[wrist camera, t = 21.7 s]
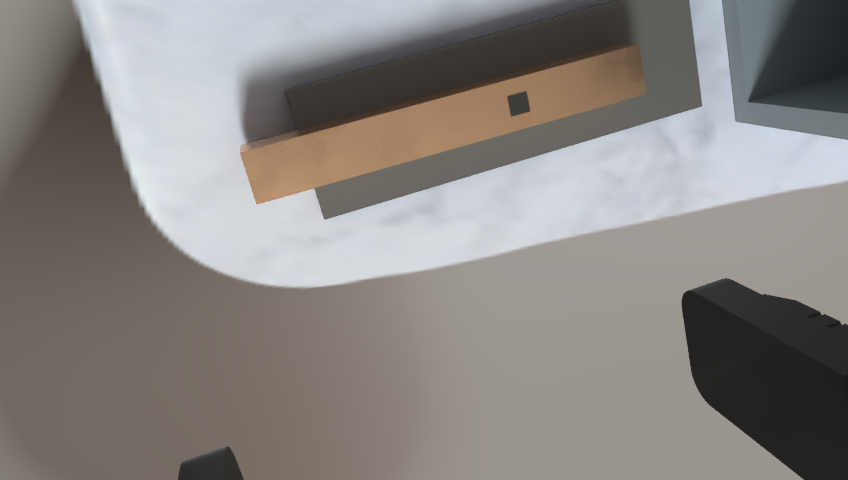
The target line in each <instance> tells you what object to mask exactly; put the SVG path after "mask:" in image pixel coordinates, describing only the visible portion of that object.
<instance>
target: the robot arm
mask: <svg viewBox="0 0 848 480" xmlns="http://www.w3.org/2000/svg"><path fill="white" fill-rule="evenodd" d="M682 312H683V318H684V325H685V332H686V339H687V345H688V352H689V359H690V366H691V372H692V376H693V379H694V382H695V384H696V386H697V388H698V390H699V392H700V394H701V395H702V397H703V398H704V399H705V401H706V402H707V403H708V404H709V405H710V406H712V407H713V408H714V409H715V410H716V411H718V412H719V413H720V414H722V415H723V416H724V417H725V418H727V419H728V420H729V421H730V422H732V423H733V424H734V425H735V426H737V427H738V428H739V429H741V430H742V431H743V432H744V433H746V434H747V435H748V436H749V437H751V438H752V439H753V440H754V441H756V442H757V443H758V444H760V445H761V446H762V447H764V448H765V449H766V450H767V451H768V452H770V453H771V454H772V455H773V456H775V457H776V458H777V459H779V460H780V461H781V462H782V463H784V464H785V465H786V466H787V467H789V468H790V469H791V470H793V471H794V472H795V473H796V474H798V475H799V476H800V477H801V478H803V479H804V480H848V325H847V324H844V325H842V324H841V323H840V321H838V320H836V319H834V318H832V317H830V316H827V315H825V314H824V315H821V313H820V312H819V311H817V310H815V309H813V308H811V307H809V306H806V305H804V304H802V303H800V302H798V301H795V300H791V299H786V298H781V297H775V296H770V295H766V294H764V295H761V294H759V293H757V292H755V291H753V290H751V289H749V288H747V287H745V286H743V285H741V284H739V283H737V282H735V281H733V280H731V279H727V278H725V279H721V280H718V281H715V282H712V283H709V284H706V285H703V286H700V287H698V288H695V289H692V290H689V291H687V292H685V293H684V294H683V297H682ZM178 480H244V479H243V476H242V474H241V471H240V469H239V466H238V463H237V461H236V458H235V456H234V454H233V452H232V450H231V449H230V448H229V447H225V448H221V449H218V450H215V451H213V452H210V453H207V454H204V455H201V456H198V457H195V458H192V459H189V460H186V461H183V462H182V463H181V466H180V471H179V477H178Z"/></svg>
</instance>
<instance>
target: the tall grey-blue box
mask: <svg viewBox="0 0 848 480" xmlns="http://www.w3.org/2000/svg"><path fill="white" fill-rule="evenodd" d="M722 3H723V12H724V20H725V29H726V38H727V47H728V56H729V65H730V74H731V83H732V92H733V100H734V109H735V118H736V122H741V123H747V124H754V125H760V126H766V127H772V128H778V129H785V130H791V131H797V132H803V133H809V134H816V135H822V136H828V137H834V138H840V139H847V140H848V0H722Z"/></svg>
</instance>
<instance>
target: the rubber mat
mask: <svg viewBox="0 0 848 480" xmlns="http://www.w3.org/2000/svg"><path fill="white" fill-rule="evenodd" d="M614 44H639V46H640V53H641V60H642V68H643V75H644V82H645V89H646V94H645V95H642V96H638V97H635V98H631V99H628V100H624V101H620V102H617V103H613V104H610V105H606V106H603V107H599V108H596V109H592V110H589V111H585V112H582V113H578V114H575V115H571V116H567V117H564V118H560V119H557V120H553V121H550V122H546V123H543V124H539V125H536V126H532V127H529V128H525V129H522V130H518V131H514V132H511V133H507V134H504V135H500V136H497V137H493V138H490V139H486V140H483V141H479V142H476V143H472V144H469V145H465V146H461V147H458V148H454V149H451V150H447V151H444V152H440V153H437V154H433V155H430V156H426V157H423V158H419V159H416V160H412V161H409V162H405V163H401V164H398V165H394V166H391V167H387V168H384V169H380V170H377V171H373V172H370V173H366V174H363V175H359V176H356V177H352V178H348V179H345V180H341V181H338V182H334V183H331V184H327V185H324V186H320V187H317V188H315V191H316V194H317V198H318V201H319V204H320V207H321V211H322V214H323V217H324V219H328V218H332V217H335V216H338V215H342V214H345V213H348V212H352V211H355V210H358V209H362V208H365V207H368V206H372V205H375V204H378V203H382V202H385V201H388V200H392V199H395V198H398V197H402V196H405V195H408V194H412V193H415V192H418V191H422V190H425V189H428V188H432V187H435V186H438V185H442V184H445V183H448V182H452V181H455V180H458V179H461V178H465V177H468V176H471V175H475V174H478V173H481V172H485V171H488V170H491V169H495V168H498V167H501V166H505V165H508V164H511V163H515V162H518V161H521V160H525V159H528V158H531V157H535V156H538V155H541V154H545V153H548V152H551V151H555V150H558V149H561V148H565V147H568V146H571V145H575V144H578V143H581V142H585V141H588V140H591V139H595V138H598V137H601V136H605V135H608V134H611V133H615V132H618V131H621V130H624V129H628V128H631V127H634V126H638V125H641V124H644V123H648V122H651V121H654V120H658V119H661V118H664V117H668V116H671V115H674V114H678V113H681V112H684V111H688V110H691V109H694V108H698V107H701V106H702V101H701V93H700V85H699V77H698V70H697V62H696V54H695V46H694V38H693V30H692V22H691V14H690V6H689V0H615V1H611V2H607V3H604V4H600V5H596V6H593V7H589V8H585V9H582V10H578V11H574V12H571V13H567V14H563V15H560V16H556V17H552V18H549V19H545V20H541V21H538V22H534V23H530V24H527V25H523V26H519V27H515V28H512V29H508V30H504V31H501V32H497V33H493V34H490V35H486V36H482V37H479V38H475V39H471V40H468V41H464V42H460V43H457V44H453V45H449V46H446V47H442V48H438V49H435V50H431V51H427V52H424V53H420V54H416V55H412V56H409V57H405V58H401V59H398V60H394V61H390V62H387V63H383V64H379V65H376V66H372V67H368V68H365V69H361V70H357V71H354V72H350V73H346V74H343V75H339V76H335V77H332V78H328V79H324V80H321V81H317V82H313V83H309V84H306V85H302V86H298V87H295V88H291V89H287V90H285V92H286V95H287V99H288V102H289V105H290V108H291V112H292V115H293V118H294V122H295V125H296V128H297V130H300V129H303V128H307V127H311V126H314V125H318V124H322V123H326V122H329V121H333V120H337V119H340V118H344V117H348V116H351V115H355V114H359V113H363V112H366V111H370V110H374V109H377V108H381V107H385V106H388V105H392V104H396V103H400V102H403V101H407V100H411V99H414V98H418V97H422V96H426V95H429V94H433V93H437V92H440V91H444V90H448V89H451V88H455V87H459V86H463V85H466V84H470V83H474V82H477V81H481V80H485V79H488V78H492V77H496V76H500V75H503V74H507V73H511V72H514V71H518V70H522V69H526V68H529V67H533V66H537V65H540V64H544V63H548V62H551V61H555V60H559V59H563V58H566V57H570V56H574V55H577V54H581V53H585V52H588V51H592V50H596V49H600V48H603V47H607V46H611V45H614Z"/></svg>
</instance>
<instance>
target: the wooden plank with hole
mask: <svg viewBox="0 0 848 480" xmlns="http://www.w3.org/2000/svg"><path fill="white" fill-rule="evenodd" d="M645 94H646V89H645V82H644V75H643V68H642V60H641V53H640V46H639V44H614V45H611V46H607V47H603V48H600V49H596V50H592V51H588V52H585V53H581V54H577V55H574V56H570V57H566V58H563V59H559V60H555V61H551V62H548V63H544V64H540V65H537V66H533V67H529V68H526V69H522V70H518V71H514V72H511V73H507V74H503V75H500V76H496V77H492V78H488V79H485V80H481V81H477V82H474V83H470V84H466V85H463V86H459V87H455V88H451V89H448V90H444V91H440V92H437V93H433V94H429V95H426V96H422V97H418V98H414V99H411V100H407V101H403V102H400V103H396V104H392V105H388V106H385V107H381V108H377V109H374V110H370V111H366V112H363V113H359V114H355V115H351V116H348V117H344V118H340V119H337V120H333V121H329V122H326V123H322V124H318V125H314V126H311V127H307V128H303V129H300V130H296V131H292V132H288V133H285V134H281V135H277V136H274V137H270V138H266V139H263V140H259V141H255V142H251V143H248V144H244V145H241V149H240V154H241V157H242V160H243V163H244V166H245V169H246V173H247V176H248V179H249V182H250V185H251V188H252V191H253V194H254V198H255V201H256V204H260V203H264V202H267V201H271V200H274V199H278V198H281V197H285V196H288V195H292V194H295V193H299V192H303V191H306V190H310V189H313V188H317V187H320V186H324V185H327V184H331V183H334V182H338V181H341V180H345V179H348V178H352V177H356V176H359V175H363V174H366V173H370V172H373V171H377V170H380V169H384V168H387V167H391V166H394V165H398V164H401V163H405V162H409V161H412V160H416V159H419V158H423V157H426V156H430V155H433V154H437V153H440V152H444V151H447V150H451V149H454V148H458V147H461V146H465V145H469V144H472V143H476V142H479V141H483V140H486V139H490V138H493V137H497V136H500V135H504V134H507V133H511V132H514V131H518V130H522V129H525V128H529V127H532V126H536V125H539V124H543V123H546V122H550V121H553V120H557V119H560V118H564V117H567V116H571V115H575V114H578V113H582V112H585V111H589V110H592V109H596V108H599V107H603V106H606V105H610V104H613V103H617V102H620V101H624V100H628V99H631V98H635V97H638V96H642V95H645Z"/></svg>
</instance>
